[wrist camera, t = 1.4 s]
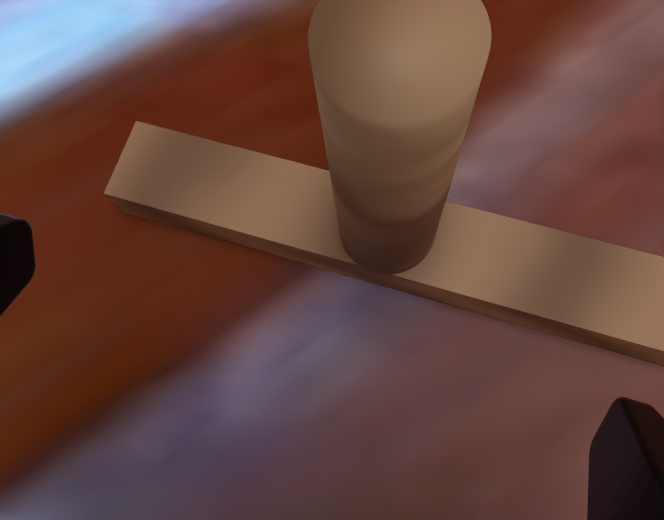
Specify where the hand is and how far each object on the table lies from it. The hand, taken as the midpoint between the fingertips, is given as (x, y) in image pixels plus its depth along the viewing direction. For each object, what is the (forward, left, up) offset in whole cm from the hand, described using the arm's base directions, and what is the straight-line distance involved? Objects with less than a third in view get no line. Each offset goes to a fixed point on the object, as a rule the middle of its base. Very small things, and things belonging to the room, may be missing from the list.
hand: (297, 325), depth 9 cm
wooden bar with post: (+5, +3, -12) cm, 13 cm away
